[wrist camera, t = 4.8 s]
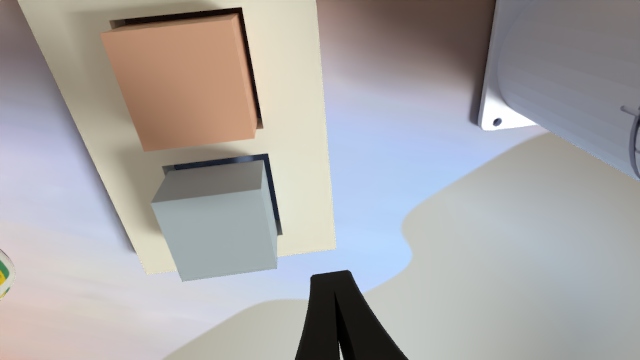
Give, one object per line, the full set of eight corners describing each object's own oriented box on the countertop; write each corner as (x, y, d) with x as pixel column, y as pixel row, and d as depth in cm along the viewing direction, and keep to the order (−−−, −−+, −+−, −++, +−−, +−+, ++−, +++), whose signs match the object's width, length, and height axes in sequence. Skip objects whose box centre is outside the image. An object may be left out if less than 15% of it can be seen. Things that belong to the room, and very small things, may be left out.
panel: (288, -286, 12) (289, -321, 11) (332, 233, 24) (336, 248, 22) (-75, -262, 11) (-123, -296, 10) (154, 257, 23) (146, 274, 22)
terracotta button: (238, 13, 16) (231, 19, 13) (257, 116, 19) (254, 138, 16) (128, 24, 16) (99, 33, 13) (163, 127, 18) (144, 151, 16)
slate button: (263, 159, 19) (261, 189, 16) (277, 232, 21) (277, 268, 18) (168, 171, 18) (150, 203, 16) (194, 243, 21) (182, 281, 18)
